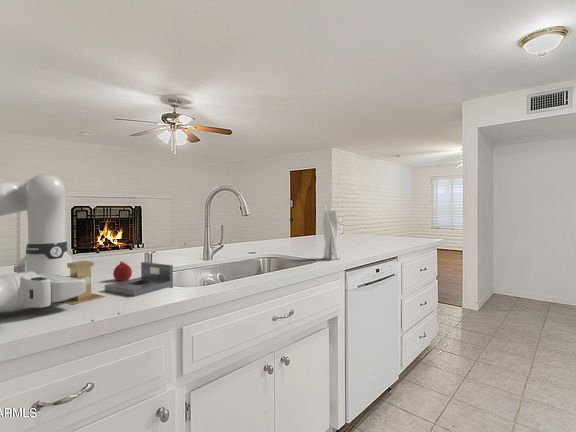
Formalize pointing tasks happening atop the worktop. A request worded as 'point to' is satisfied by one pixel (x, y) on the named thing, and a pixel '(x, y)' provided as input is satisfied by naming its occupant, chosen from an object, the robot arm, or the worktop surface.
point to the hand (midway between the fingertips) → (84, 278)
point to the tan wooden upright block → (81, 275)
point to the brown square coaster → (73, 302)
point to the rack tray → (145, 280)
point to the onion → (122, 272)
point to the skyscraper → (330, 234)
